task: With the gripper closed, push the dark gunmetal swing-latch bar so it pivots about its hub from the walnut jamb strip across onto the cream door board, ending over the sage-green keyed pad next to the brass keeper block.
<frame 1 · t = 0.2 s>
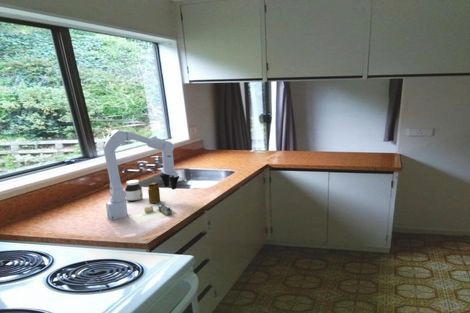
hand: (170, 187, 174), 10 cm above the worktop, fingers open, 7 cm apart
keeper: (149, 212, 164), resting on door board
latch bar: (164, 208, 162), point 3 cm above the worktop, hinge at 0.0°
spread jar: (132, 200, 189), on the worktop
condiment: (156, 204, 180), on the worktop
door board: (153, 217, 160), on the worktop
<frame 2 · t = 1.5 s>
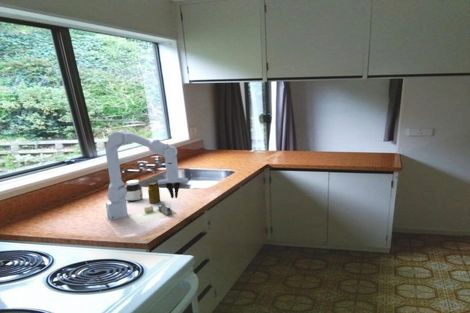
hand: (174, 197, 159), 9 cm above the worktop, fingers closed
nothing on the worktop moved.
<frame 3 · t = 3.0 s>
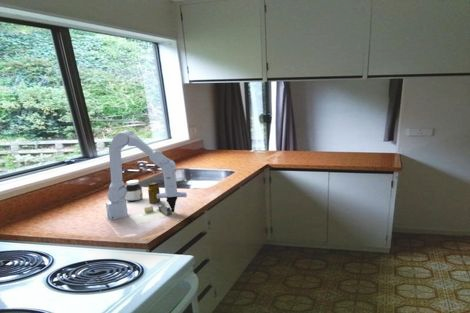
hand: (173, 211, 160), 2 cm above the worktop, fingers closed, pressing on latch bar
latch bar: (164, 208, 162), point 3 cm above the worktop, hinge at -0.3°, touching gripper
everything else where it was.
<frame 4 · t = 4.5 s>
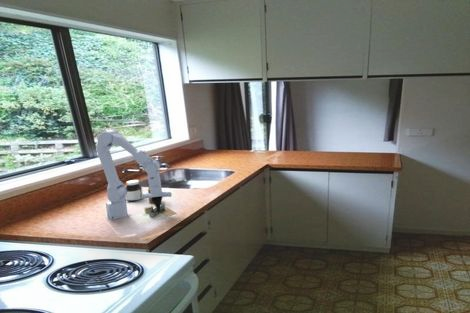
hand: (158, 211, 160), 3 cm above the worktop, fingers closed, pressing on latch bar
latch bar: (157, 209, 162), point 3 cm above the worktop, hinge at -52.0°, touching gripper
everything else where it was.
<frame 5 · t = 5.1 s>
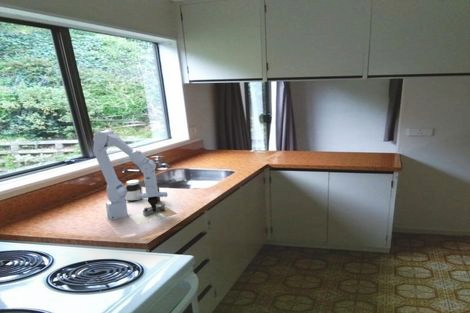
hand: (154, 211, 160), 3 cm above the worktop, fingers closed, pressing on latch bar
latch bar: (154, 208, 163), point 3 cm above the worktop, hinge at -78.9°, touching gripper
everything else where it was.
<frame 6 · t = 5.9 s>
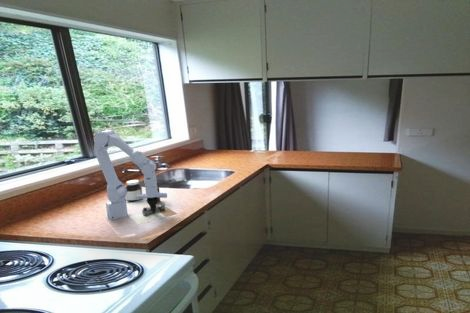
hand: (154, 211, 160), 2 cm above the worktop, fingers closed, pressing on latch bar
latch bar: (154, 208, 163), point 3 cm above the worktop, hinge at -85.0°, touching gripper
everything else where it was.
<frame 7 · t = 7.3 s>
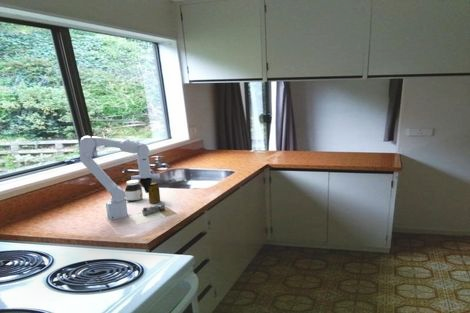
hand: (147, 192, 167), 10 cm above the worktop, fingers closed
latch bar: (154, 208, 163), point 3 cm above the worktop, hinge at -85.2°
everything else where it was.
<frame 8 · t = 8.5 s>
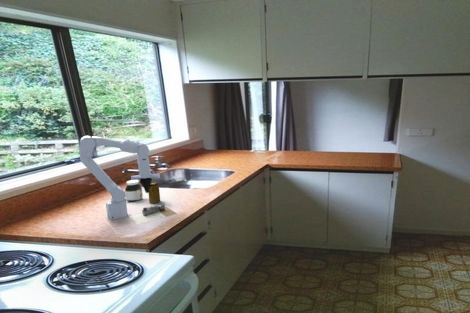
hand: (147, 192, 167), 10 cm above the worktop, fingers closed
nothing on the worktop moved.
at the end: latch bar at -85° (first picture: +0°) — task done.
